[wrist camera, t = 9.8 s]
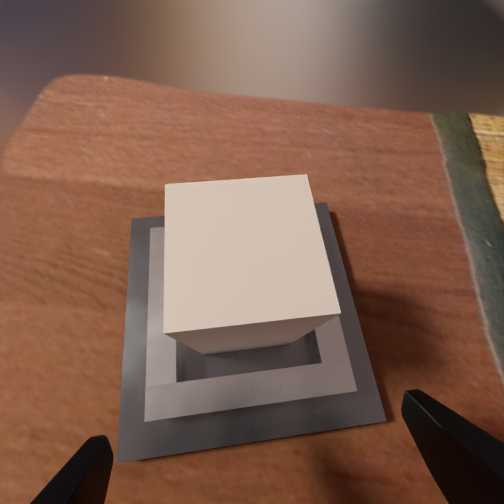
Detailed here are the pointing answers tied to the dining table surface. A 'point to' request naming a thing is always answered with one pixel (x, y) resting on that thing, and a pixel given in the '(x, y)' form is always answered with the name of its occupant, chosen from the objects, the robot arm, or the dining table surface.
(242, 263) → the square block
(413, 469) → the dining table surface
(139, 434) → the locating plate
